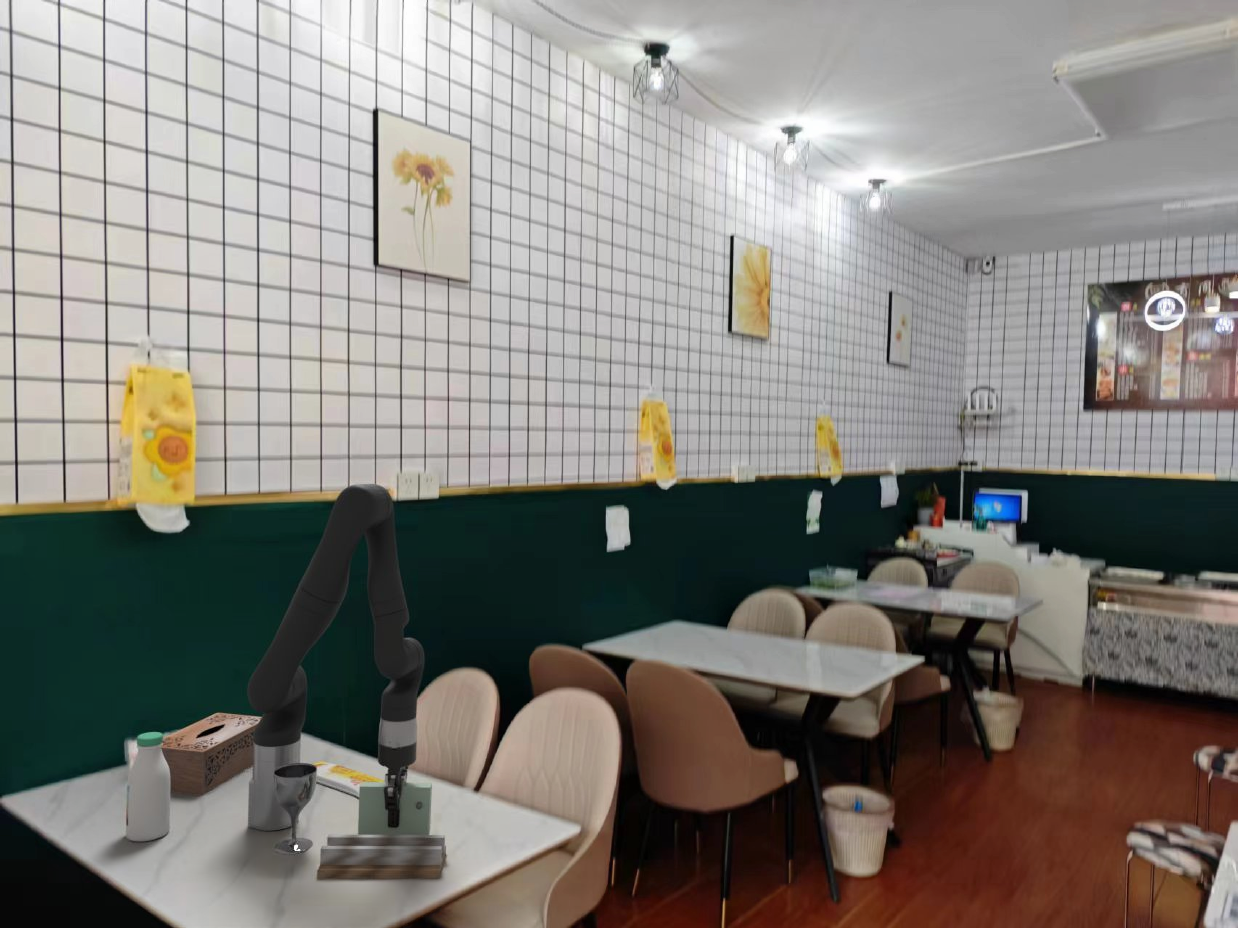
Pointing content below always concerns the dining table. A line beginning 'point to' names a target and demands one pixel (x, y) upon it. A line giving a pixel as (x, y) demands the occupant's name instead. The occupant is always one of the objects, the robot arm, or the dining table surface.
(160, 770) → the milk bottle
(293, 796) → the wine glass
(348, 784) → the food package
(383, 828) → the door panel
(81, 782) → the dining table surface
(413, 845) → the door track
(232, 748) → the tissue box cover
